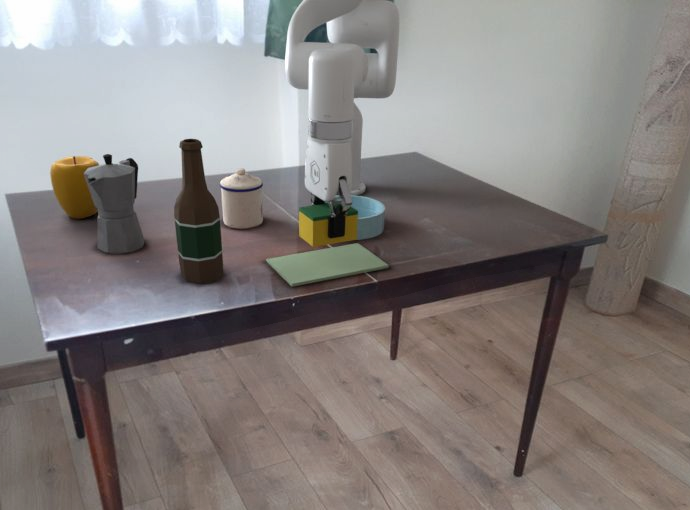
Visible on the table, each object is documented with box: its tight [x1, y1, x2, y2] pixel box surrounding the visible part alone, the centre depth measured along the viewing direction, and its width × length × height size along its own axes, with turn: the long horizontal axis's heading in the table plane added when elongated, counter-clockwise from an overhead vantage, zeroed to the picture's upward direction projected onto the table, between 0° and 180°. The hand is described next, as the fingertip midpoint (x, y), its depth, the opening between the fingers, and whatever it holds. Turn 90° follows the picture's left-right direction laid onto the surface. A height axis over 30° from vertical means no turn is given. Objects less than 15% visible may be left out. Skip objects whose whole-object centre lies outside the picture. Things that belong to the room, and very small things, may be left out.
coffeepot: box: [84, 153, 145, 255], centre depth 123 cm, size 15×9×18 cm, turn 162°
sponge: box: [298, 202, 358, 248], centre depth 116 cm, size 9×6×6 cm, turn 116°
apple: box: [49, 155, 100, 220], centre depth 137 cm, size 11×11×13 cm
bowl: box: [325, 195, 386, 241], centre depth 135 cm, size 15×15×5 cm
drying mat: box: [266, 242, 390, 287], centre depth 120 cm, size 20×12×1 cm, turn 116°
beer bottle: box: [173, 138, 224, 285], centre depth 109 cm, size 8×8×24 cm
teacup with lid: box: [219, 167, 264, 230], centre depth 137 cm, size 12×9×12 cm
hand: (327, 229), depth 116 cm, fingers closed on sponge, 6 cm apart
